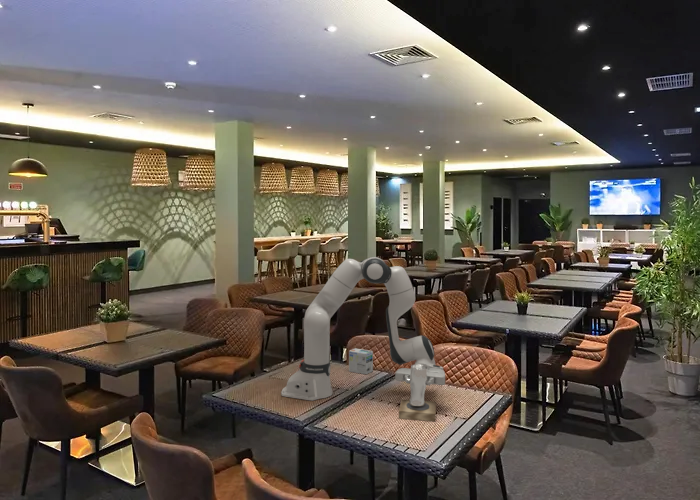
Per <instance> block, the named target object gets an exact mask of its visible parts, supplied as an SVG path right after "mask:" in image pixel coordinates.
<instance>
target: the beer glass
mask: <svg viewBox="0 0 700 500" xmlns="http://www.w3.org/2000/svg"><path fill="white" fill-rule="evenodd" d="M410 369H411V370H410V384H409V387H410V398H409V400H410V401H409V403H410V404H411V405H413V406H424V404H425V402H424V401H425V392H426V390H427V389H426V388H427V385H426V382H427V367H426V366H424V365H419V364H415V363H414V364H411V366H410Z"/></svg>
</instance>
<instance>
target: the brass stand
mask: <svg viewBox="0 0 700 500" xmlns="http://www.w3.org/2000/svg"><path fill="white" fill-rule="evenodd" d="M409 401H410V399H404V398H403V399H402V398H401V400H400V405H399V409H398V419H401V420H413V421H424V422H436V411H437V410H436V409H437V408H436V406H437V402H436V401H431V400H430V401H429V400H428V401H427V400H424V402H425V404H424V406H413V405H411V404H410V403H409Z"/></svg>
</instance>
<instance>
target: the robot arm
mask: <svg viewBox="0 0 700 500" xmlns="http://www.w3.org/2000/svg"><path fill="white" fill-rule="evenodd" d="M361 280H365V281H367V283H371V284H384V286H385V288H386V292H387V294H388V299H389V303H388V304H389V305H388V306H387V307H386V308H385V318H386V328H387V332H388V335H387V336H388V341H389V342H388V343H389V354H390V358H391V361H392V362H393V363H395V364H397V365H400V366H401V365H402V366H403V365H404V364H407V363H410V362H414V361H415V362H414V365H415V364H419V365H424V366H426V367H427V382H426V386H430V385H434V386H435V385H436V386H445V385H446V372H445V370H444V367H443V366H441V365H436V361H435V358H434V357H435V349H434V346H433V343H432V341H431V340H430V339H429V338H428V337H427V336H425V335H422V334H421V335H418V336H414V337H410V338H408V339H403V340H402V339H401V340H400V337H399V329H398V324H397V323H398V319H400V317H401V316H403V315H404V314H405V313H406V312H408V311H409V310H410V309H412V308H413V306H414V304H415V301H416V294H415V290H414V287H413V284H412V281H411V279H410V277H409V275H408V273H407V271H406V269H405V268H404V267H403V266H401V265H400V266H398V265H394V266H389V265H388V264H386V262H385V261H384V259H382V258H380V257H377V256H369V257H367V258H364V259H363V260H360V261H358V260H356V259H354V258H346V259H344V260H343V261H342V263H340V264H339V266H338V267H337V268H336V269H335V270H334V272H333V273H332V274H331V276H330V277H329V278H328V280H327V281H326V283H325V285H324V286H323V287H322V288H321V290H320V291H319V293H318V294H317V295H316V296H315V298H314V299H313V300H312V302H311V303H310V304H309V306H308V307H307V309H306V310H305V313H304V317H303V318H304V319H303V343H304V344H303V347H304V349H303V350H304V351H303V352H304V354H303V359H301V361H300V363H299V364H298V368H299V370H297V371H296V372H295V373H293V374H292V375H291V376H290V377H289V378H288V379H287V382H286V386H285V387H283V388H282V389H281V392H280V393H281V394H280V395H281V396H282V397H287V398H290V399H291V398H293V399H298V400H305V401H310V402H312V401H316V400H319V399H326V398H328V397H331V396H332V395H333V389H332V384H331V377H330V375H331V368H332V367H331V361H330V340H331V339H330V336H331V334H330V331H331V328H330V327H331V318H332V317H333V316H334V315H335V313H336V312H337V311H338V310H339V308H340V307H341V306H342V305H343V304H344V302H345V301H346V300H347V298H349V295H350V294H351V292H352V291H353V290H354V288H355V287H356V286H357V283H359V281H361ZM410 370H411V368H407V367H400V368H398V369H396V371H395V374H394V375H395V376H394V377H395V381H396V382H397V381H398V382H404V383H405V384H409V385H410Z"/></svg>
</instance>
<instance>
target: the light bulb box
mask: <svg viewBox="0 0 700 500" xmlns="http://www.w3.org/2000/svg"><path fill="white" fill-rule="evenodd" d="M373 363H374V351H373V350H368V349H362V348H356V347H355V348H352V349H350V350H349V351H348V372H350V373H351V372H352V373H357V374H360V373H361V375H365V374H367V375H369V374H371V373H372V372H374V364H373ZM368 373H369V374H368Z"/></svg>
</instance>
